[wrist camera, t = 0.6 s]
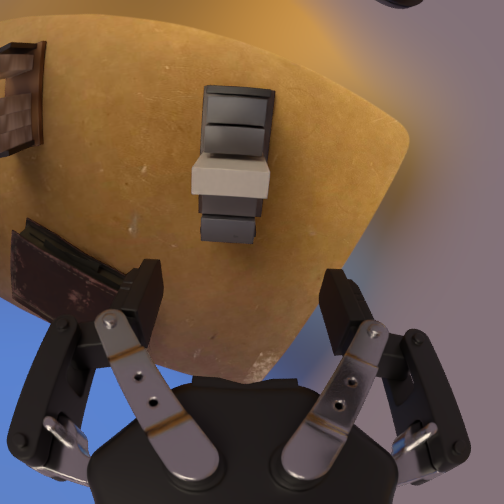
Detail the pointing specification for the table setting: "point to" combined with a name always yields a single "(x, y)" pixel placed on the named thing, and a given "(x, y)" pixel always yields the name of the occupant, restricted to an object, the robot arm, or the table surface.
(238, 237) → the grey books
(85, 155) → the table surface
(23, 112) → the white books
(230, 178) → the white book
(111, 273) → the diary
